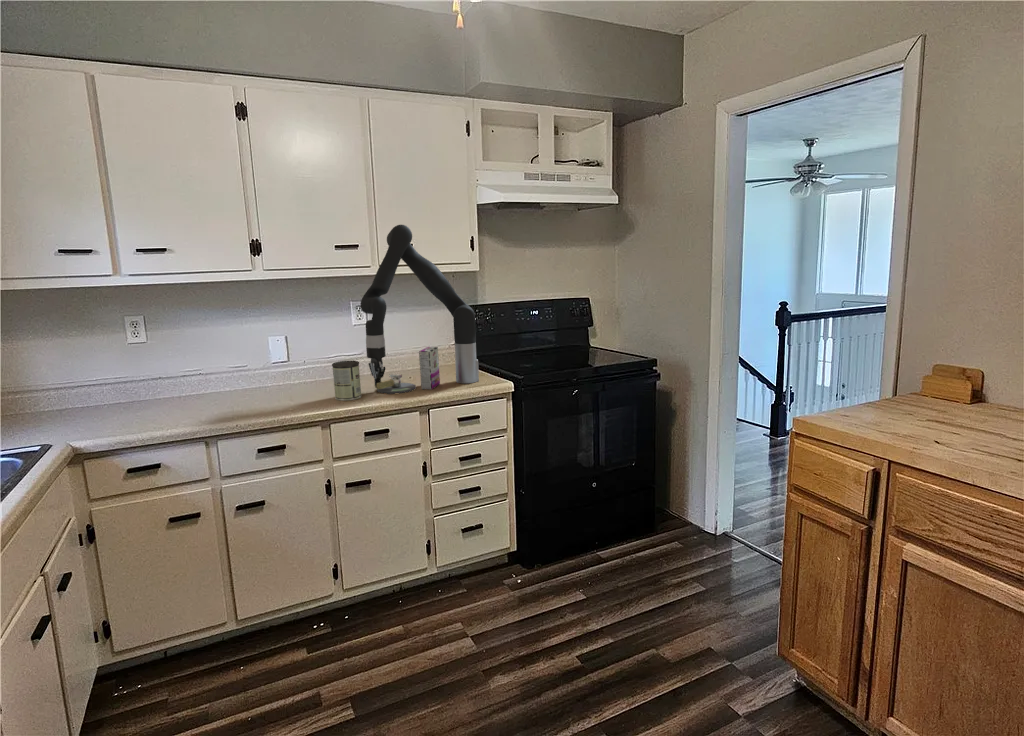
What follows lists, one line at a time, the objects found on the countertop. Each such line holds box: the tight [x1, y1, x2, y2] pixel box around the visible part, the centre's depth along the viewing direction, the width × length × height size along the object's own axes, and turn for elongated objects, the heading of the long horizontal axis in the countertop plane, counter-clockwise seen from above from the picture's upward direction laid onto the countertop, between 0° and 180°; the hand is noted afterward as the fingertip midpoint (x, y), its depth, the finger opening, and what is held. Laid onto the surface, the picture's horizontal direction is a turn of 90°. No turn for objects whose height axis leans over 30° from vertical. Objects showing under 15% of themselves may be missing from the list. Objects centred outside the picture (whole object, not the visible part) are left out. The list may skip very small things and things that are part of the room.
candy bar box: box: [418, 346, 441, 391], centre depth 249 cm, size 11×5×16 cm, turn 168°
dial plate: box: [376, 382, 416, 395], centre depth 247 cm, size 16×16×1 cm
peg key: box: [374, 372, 403, 390], centre depth 243 cm, size 12×5×5 cm, turn 141°
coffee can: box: [331, 360, 362, 402], centre depth 234 cm, size 10×10×14 cm
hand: (378, 387), depth 243 cm, fingers closed
